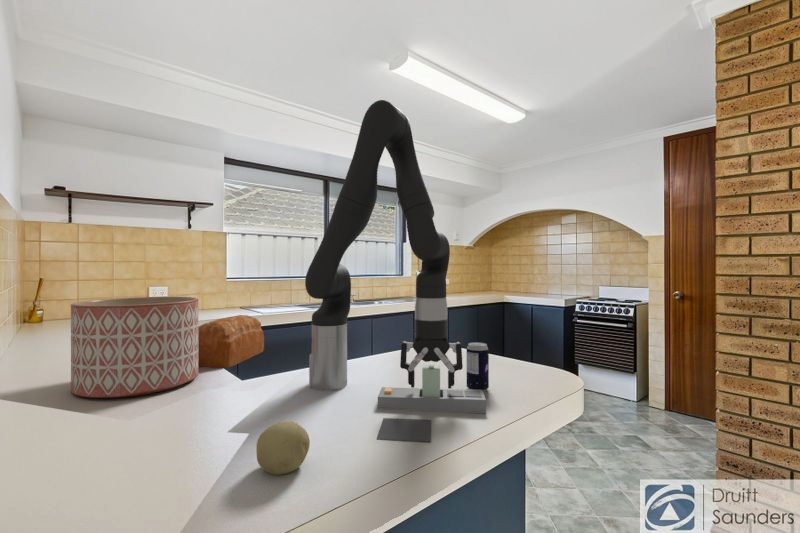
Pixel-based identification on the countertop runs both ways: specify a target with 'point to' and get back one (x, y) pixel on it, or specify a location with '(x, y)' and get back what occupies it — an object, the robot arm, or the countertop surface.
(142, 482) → the countertop surface
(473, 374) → the beverage can
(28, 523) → the countertop surface
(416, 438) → the mat
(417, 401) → the strip
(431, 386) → the block
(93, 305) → the planter
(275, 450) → the potato
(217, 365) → the bread
